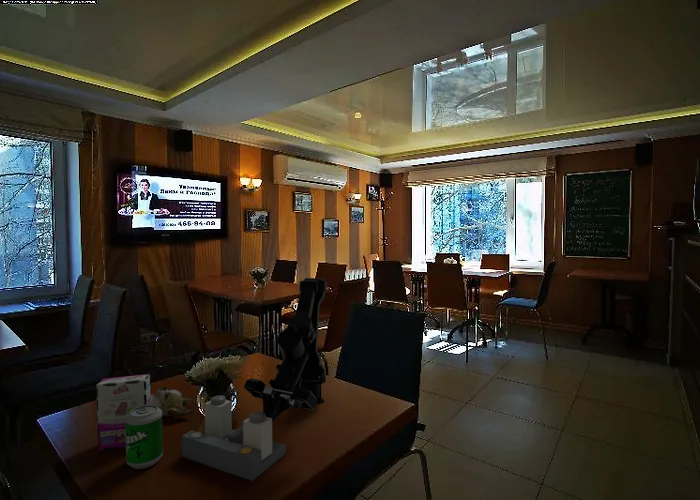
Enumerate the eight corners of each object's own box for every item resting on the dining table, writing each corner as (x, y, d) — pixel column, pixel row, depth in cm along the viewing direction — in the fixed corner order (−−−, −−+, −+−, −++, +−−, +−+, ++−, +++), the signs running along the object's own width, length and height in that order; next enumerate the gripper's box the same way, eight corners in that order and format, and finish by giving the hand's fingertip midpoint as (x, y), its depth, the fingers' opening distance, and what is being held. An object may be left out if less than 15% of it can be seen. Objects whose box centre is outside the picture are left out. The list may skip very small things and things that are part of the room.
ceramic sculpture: (141, 381, 117) (195, 379, 122) (140, 410, 117) (194, 406, 122) (134, 396, 107) (193, 392, 112) (133, 427, 107) (192, 422, 112)
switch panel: (219, 433, 104) (219, 413, 103) (285, 453, 94) (285, 431, 94) (182, 456, 93) (182, 434, 93) (252, 481, 84) (252, 456, 83)
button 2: (255, 447, 93) (254, 409, 92) (272, 452, 90) (272, 414, 90) (243, 455, 89) (243, 416, 89) (261, 461, 87) (260, 421, 86)
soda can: (154, 449, 96) (153, 400, 96) (168, 460, 91) (168, 409, 91) (120, 462, 90) (119, 411, 90) (134, 475, 86) (133, 421, 85)
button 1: (217, 428, 102) (216, 393, 102) (231, 432, 100) (231, 397, 99) (205, 435, 98) (204, 399, 98) (220, 439, 96) (219, 403, 96)
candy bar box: (152, 435, 103) (151, 373, 102) (147, 445, 98) (146, 380, 97) (103, 441, 100) (102, 377, 99) (97, 451, 95) (95, 384, 94)
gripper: (334, 387, 102) (311, 450, 93) (275, 376, 110) (249, 433, 101) (318, 366, 95) (292, 432, 85) (257, 356, 103) (227, 415, 94)
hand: (264, 428), depth 92 cm, fingers closed, pressing on button 2
